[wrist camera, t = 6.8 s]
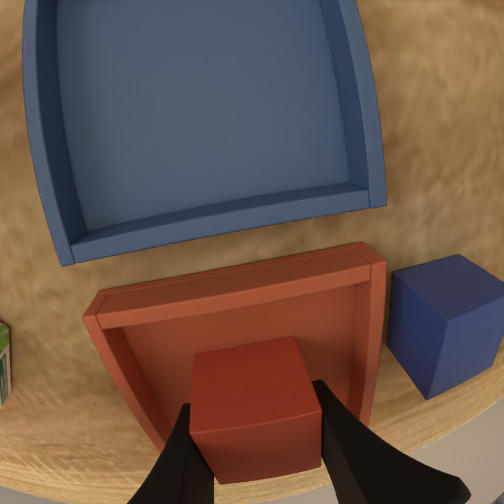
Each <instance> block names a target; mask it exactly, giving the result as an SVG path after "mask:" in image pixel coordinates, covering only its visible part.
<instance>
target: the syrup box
mask: <svg viewBox="0 0 504 504" xmlns="http://www.w3.org/2000/svg"><path fill="white" fill-rule="evenodd" d="M10 378H11V375H10V351H9V328H8V327H7V326H6V325H5V324H3V323H2V322H0V410H1V408H2V406H3V404H4V403H5V401H6V399H7V398H8V396H9V395H10V393H11V390H12V386H11V381H10Z"/></svg>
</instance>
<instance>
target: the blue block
mask: <svg viewBox="0 0 504 504" xmlns="http://www.w3.org/2000/svg"><path fill="white" fill-rule="evenodd" d="M503 334H504V282H503V281H501V280H500V279H498V278H497V277H495V276H494V275H492V274H490V273H489V272H487V271H486V270H484V269H483V268H481V267H479V266H478V265H476V264H475V263H473V262H471V261H470V260H468V259H466V258H465V257H463V256H461V255H460V254H458V255H454V256H451V257H447V258H443V259H440V260H436V261H433V262H429V263H425V264H421V265H418V266H414V267H410V268H406V269H402V270H398V271H394V272H393V275H392V292H391V306H390V317H389V327H388V336H387V344H386V345H387V347H388V348H389V350H390V351H391V352H392V354H393V355H394V356H395V358H396V359H397V360H398V362H399V363H400V365H401V366H402V367H403V369H404V370H405V371H406V373H407V374H408V376H409V377H410V378H411V380H412V381H413V383H414V384H415V385H416V387H417V388H418V390H419V391H420V392H421V394H422V395H423V397H424V398H425V400H429V399H431V398H433V397H435V396H437V395H440V394H442V393H444V392H446V391H448V390H450V389H452V388H454V387H456V386H458V385H459V384H461V383H463V382H465V381H467V380H469V379H471V378H472V377H474V376H476V375H478V374H479V373H481V372H483V371H485V370H486V369H488V368H490V367H491V366H492V364H493V362H494V359H495V357H496V354H497V351H498V349H499V346H500V343H501V340H502V337H503Z"/></svg>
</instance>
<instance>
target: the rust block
mask: <svg viewBox="0 0 504 504" xmlns="http://www.w3.org/2000/svg"><path fill="white" fill-rule="evenodd" d="M189 433H190V435H191V437H192V439H193V440H194V442H195V444H196V446H197V448H198V449H199V451H200V453H201V454H202V456H203V458H204V460H205V461H206V463H207V465H208V466H209V468H210V469H211V471H212V473H213V474H214V476H215V478H216V479H217V481H218V482H219V484H231V483H240V482H247V481H255V480H261V479H267V478H273V477H279V476H284V475H289V474H294V473H298V472H303V471H307V470H311V469H315V468H319V467H321V454H322V408H321V406H320V403H319V400H318V398H317V395H316V392H315V390H314V387H313V385H312V382H311V379H310V377H309V374H308V371H307V369H306V366H305V363H304V361H303V358H302V356H301V353H300V350H299V348H298V345H297V342H296V340H295V337H294V336H290V337H285V338H280V339H275V340H270V341H265V342H260V343H255V344H249V345H244V346H238V347H233V348H227V349H221V350H214V351H208V352H201V353H195V354H194V361H193V375H192V391H191V409H190V430H189Z"/></svg>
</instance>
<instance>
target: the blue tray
mask: <svg viewBox="0 0 504 504" xmlns="http://www.w3.org/2000/svg"><path fill="white" fill-rule="evenodd" d="M22 70H23V90H24V103H25V113H26V122H27V130H28V137H29V143H30V149H31V155H32V161H33V166H34V171H35V176H36V181H37V185H38V189H39V194H40V198H41V202H42V206H43V209H44V213H45V217H46V220H47V224H48V227H49V231H50V234H51V237H52V241H53V244H54V247H55V250H56V253H57V256H58V259H59V262H60V264H61V266H68V265H72V264H75V263H82V262H86V261H91V260H96V259H100V258H105V257H110V256H114V255H119V254H124V253H129V252H134V251H139V250H144V249H149V248H153V247H158V246H163V245H169V244H174V243H179V242H184V241H189V240H194V239H199V238H205V237H210V236H215V235H220V234H226V233H231V232H236V231H242V230H247V229H253V228H258V227H264V226H269V225H275V224H281V223H286V222H292V221H298V220H304V219H310V218H315V217H321V216H327V215H333V214H339V213H345V212H352V211H358V210H364V209H368V208H378V207H384V206H386V205H387V200H386V180H385V165H384V153H383V143H382V133H381V125H380V117H379V109H378V102H377V96H376V90H375V84H374V78H373V72H372V67H371V62H370V57H369V52H368V48H367V43H366V39H365V34H364V30H363V26H362V22H361V18H360V15H359V11H358V7H357V4H356V0H25V5H24V17H23V36H22Z"/></svg>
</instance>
